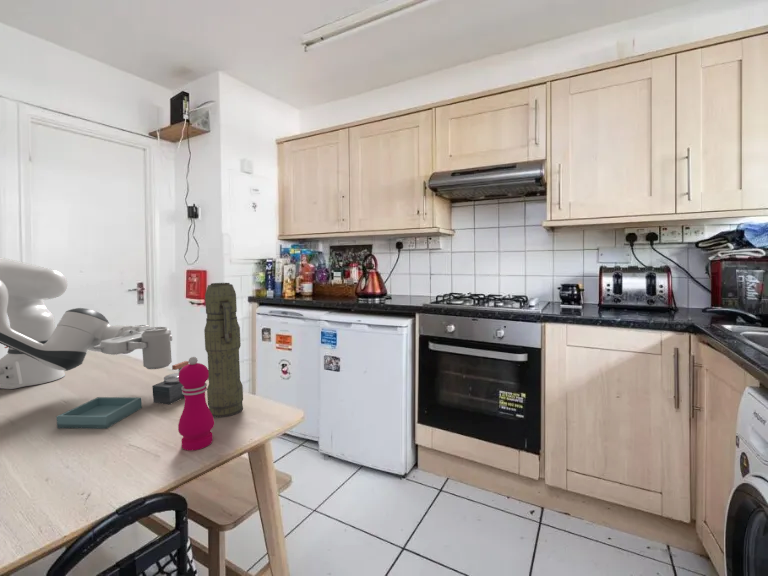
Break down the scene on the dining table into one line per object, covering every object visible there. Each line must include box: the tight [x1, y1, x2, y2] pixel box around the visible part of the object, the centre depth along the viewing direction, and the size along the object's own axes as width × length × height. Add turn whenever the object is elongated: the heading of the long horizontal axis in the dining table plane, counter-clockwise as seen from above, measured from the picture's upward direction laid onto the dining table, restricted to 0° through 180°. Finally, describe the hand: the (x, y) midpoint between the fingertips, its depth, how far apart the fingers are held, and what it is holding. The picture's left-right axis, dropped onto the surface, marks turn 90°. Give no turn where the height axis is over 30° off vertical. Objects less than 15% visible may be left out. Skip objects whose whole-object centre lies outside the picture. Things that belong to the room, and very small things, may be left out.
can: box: [141, 326, 173, 370], centre depth 114 cm, size 8×8×12 cm
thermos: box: [203, 282, 244, 418], centre depth 100 cm, size 9×12×35 cm
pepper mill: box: [177, 356, 215, 452], centre depth 83 cm, size 7×7×20 cm
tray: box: [56, 396, 143, 430], centre depth 98 cm, size 13×13×3 cm
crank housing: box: [151, 360, 189, 405], centre depth 112 cm, size 7×12×10 cm, turn 165°
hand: (158, 342), depth 113 cm, fingers closed on can, 7 cm apart
